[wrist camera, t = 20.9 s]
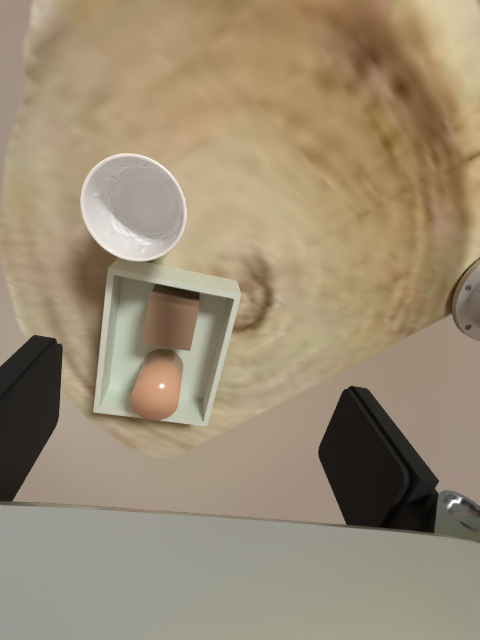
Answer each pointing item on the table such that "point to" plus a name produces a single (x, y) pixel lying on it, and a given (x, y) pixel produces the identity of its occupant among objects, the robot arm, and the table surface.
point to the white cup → (133, 207)
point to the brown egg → (158, 385)
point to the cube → (171, 317)
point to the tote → (129, 352)
